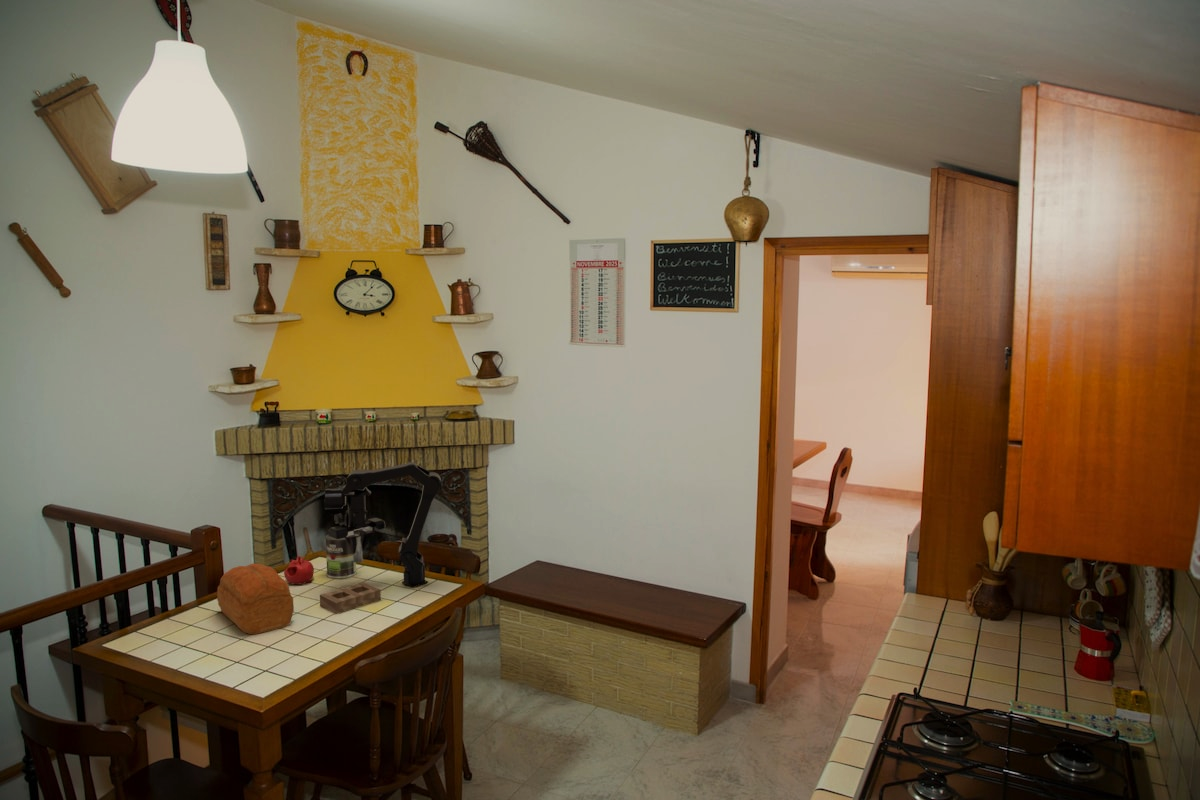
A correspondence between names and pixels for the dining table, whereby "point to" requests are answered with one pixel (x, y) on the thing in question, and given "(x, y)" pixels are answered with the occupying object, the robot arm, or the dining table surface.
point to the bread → (255, 598)
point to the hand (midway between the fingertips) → (357, 552)
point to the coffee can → (339, 558)
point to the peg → (358, 550)
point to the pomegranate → (299, 571)
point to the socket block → (350, 597)
